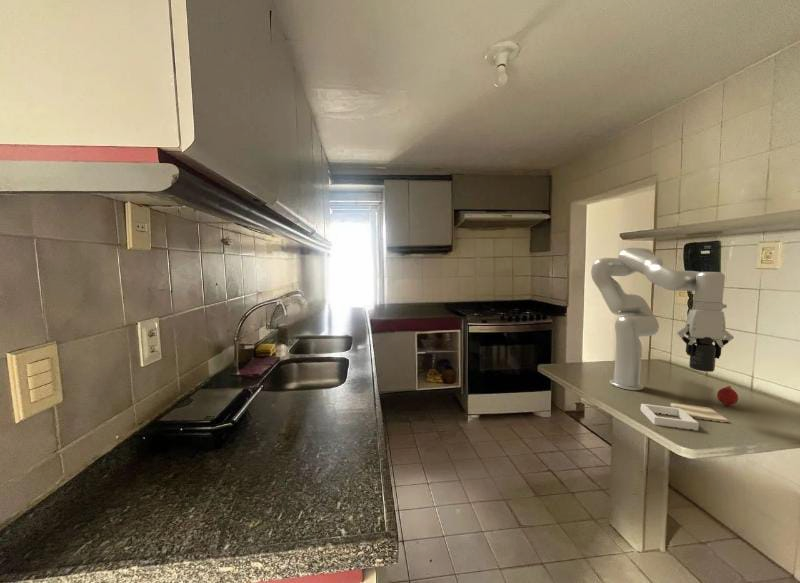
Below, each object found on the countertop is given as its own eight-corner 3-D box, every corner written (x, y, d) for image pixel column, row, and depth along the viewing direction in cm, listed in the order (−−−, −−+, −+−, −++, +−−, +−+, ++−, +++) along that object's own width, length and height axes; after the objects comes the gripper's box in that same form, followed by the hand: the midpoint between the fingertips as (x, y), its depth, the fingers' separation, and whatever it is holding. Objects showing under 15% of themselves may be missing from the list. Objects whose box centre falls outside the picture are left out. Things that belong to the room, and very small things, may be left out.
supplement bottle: (719, 373, 116) (722, 338, 115) (696, 371, 118) (699, 337, 117) (705, 367, 123) (709, 334, 122) (684, 365, 124) (687, 333, 124)
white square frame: (640, 410, 123) (641, 403, 123) (679, 415, 120) (680, 408, 120) (654, 424, 112) (654, 417, 112) (698, 430, 108) (698, 423, 108)
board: (670, 405, 129) (670, 402, 128) (709, 410, 125) (709, 407, 125) (685, 417, 118) (685, 414, 118) (727, 422, 115) (728, 420, 114)
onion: (732, 410, 126) (734, 389, 125) (713, 404, 131) (715, 384, 130) (740, 407, 128) (742, 387, 127) (721, 402, 133) (723, 382, 133)
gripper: (731, 307, 120) (726, 356, 121) (672, 304, 125) (668, 351, 126) (745, 309, 113) (740, 361, 114) (683, 306, 118) (678, 356, 119)
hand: (702, 356), depth 120 cm, fingers closed on supplement bottle, 6 cm apart
